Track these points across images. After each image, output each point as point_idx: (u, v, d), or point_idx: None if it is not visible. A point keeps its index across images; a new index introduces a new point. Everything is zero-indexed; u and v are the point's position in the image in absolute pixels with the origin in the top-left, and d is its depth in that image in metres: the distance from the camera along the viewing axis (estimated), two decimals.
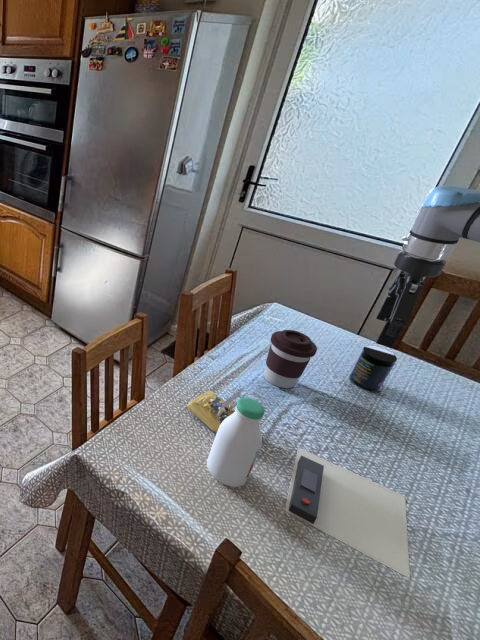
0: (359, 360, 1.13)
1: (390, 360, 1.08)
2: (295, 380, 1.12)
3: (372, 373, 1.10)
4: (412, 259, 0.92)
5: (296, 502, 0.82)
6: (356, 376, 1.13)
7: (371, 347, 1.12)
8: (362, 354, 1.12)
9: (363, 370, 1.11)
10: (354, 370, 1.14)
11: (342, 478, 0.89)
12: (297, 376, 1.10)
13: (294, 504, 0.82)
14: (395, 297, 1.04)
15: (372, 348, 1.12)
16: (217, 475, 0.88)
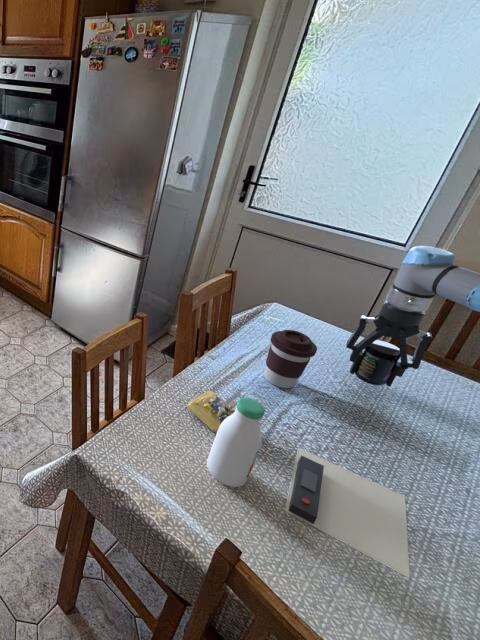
0: (364, 354, 1.11)
1: (395, 353, 1.06)
2: (295, 380, 1.12)
3: (377, 367, 1.08)
4: (422, 314, 1.01)
5: (296, 502, 0.82)
6: (361, 371, 1.12)
7: (376, 341, 1.11)
8: (367, 348, 1.10)
9: (368, 365, 1.10)
10: (359, 365, 1.13)
11: (342, 478, 0.89)
12: (297, 376, 1.10)
13: (294, 504, 0.82)
14: None
15: (377, 342, 1.11)
16: (217, 475, 0.88)
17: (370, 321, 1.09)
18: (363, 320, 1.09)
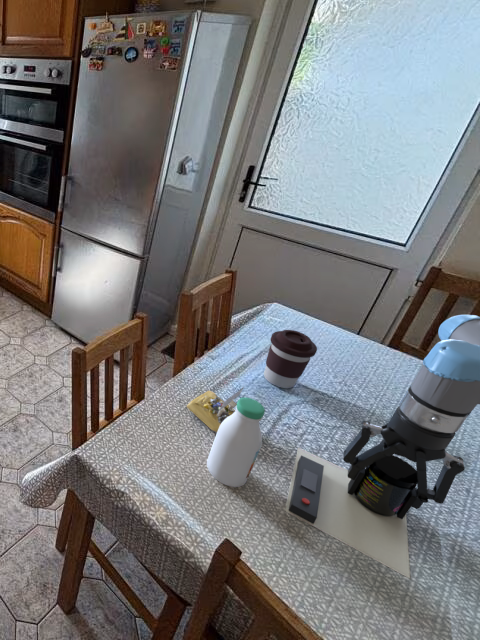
0: (367, 473, 0.82)
1: (411, 479, 0.77)
2: (295, 380, 1.12)
3: (384, 494, 0.79)
4: (451, 436, 0.71)
5: (296, 502, 0.82)
6: (363, 495, 0.82)
7: None
8: (371, 466, 0.81)
9: (373, 489, 0.81)
10: (360, 484, 0.83)
11: (342, 478, 0.89)
12: (297, 376, 1.10)
13: (294, 504, 0.82)
14: None
15: (385, 457, 0.81)
16: (217, 475, 0.88)
17: (376, 432, 0.79)
18: (367, 430, 0.79)
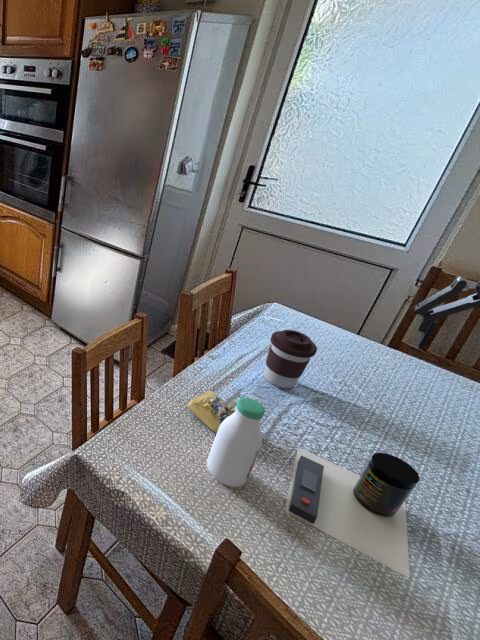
0: (366, 473, 0.82)
1: (411, 480, 0.77)
2: (295, 380, 1.12)
3: (384, 494, 0.79)
4: None
5: (296, 502, 0.82)
6: (362, 495, 0.82)
7: (383, 455, 0.82)
8: (370, 466, 0.81)
9: (372, 489, 0.81)
10: (359, 485, 0.83)
11: (342, 478, 0.89)
12: (297, 376, 1.10)
13: (294, 504, 0.82)
14: None
15: (384, 457, 0.81)
16: (217, 475, 0.88)
17: (471, 286, 0.79)
18: (464, 283, 0.79)
